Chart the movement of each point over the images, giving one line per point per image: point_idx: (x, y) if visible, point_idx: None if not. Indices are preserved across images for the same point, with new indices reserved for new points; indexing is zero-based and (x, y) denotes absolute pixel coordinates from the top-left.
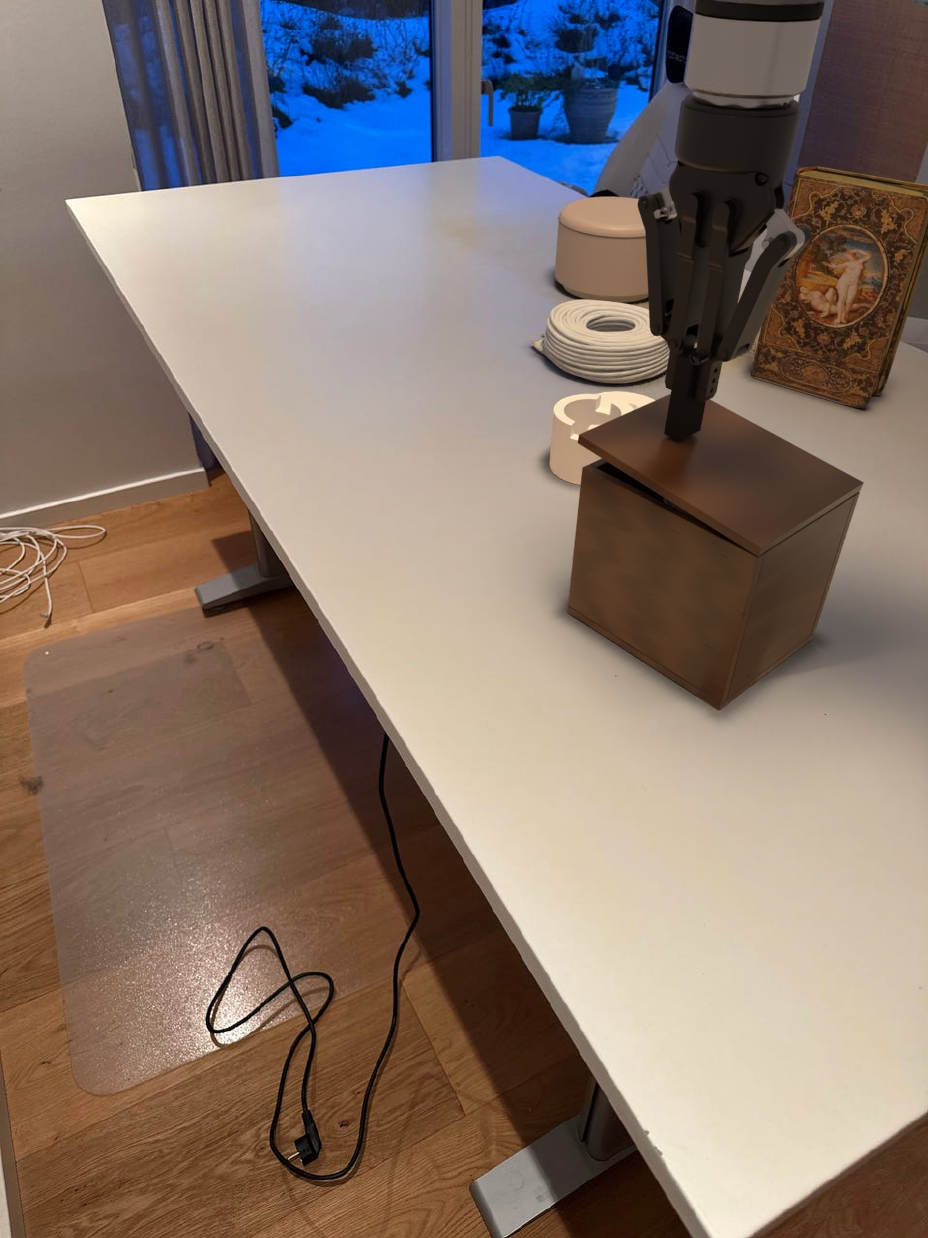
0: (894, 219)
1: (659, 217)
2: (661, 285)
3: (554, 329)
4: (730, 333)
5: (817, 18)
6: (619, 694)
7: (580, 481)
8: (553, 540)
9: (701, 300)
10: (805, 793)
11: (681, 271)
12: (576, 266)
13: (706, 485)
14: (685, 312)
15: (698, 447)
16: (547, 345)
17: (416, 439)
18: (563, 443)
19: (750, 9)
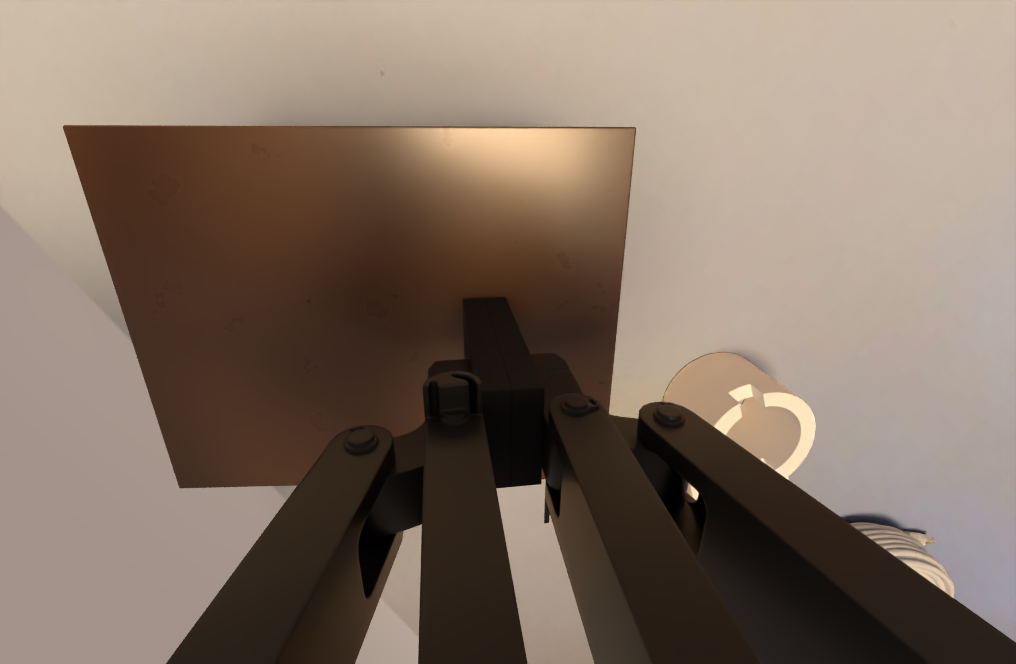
0: None
1: None
2: (770, 535)
3: (924, 560)
4: (335, 498)
5: None
6: (349, 44)
7: (695, 363)
8: (641, 241)
9: (584, 590)
10: (61, 83)
11: (723, 638)
12: None
13: (312, 221)
14: (583, 489)
15: (430, 325)
16: (909, 538)
17: (930, 270)
18: (753, 376)
19: None
